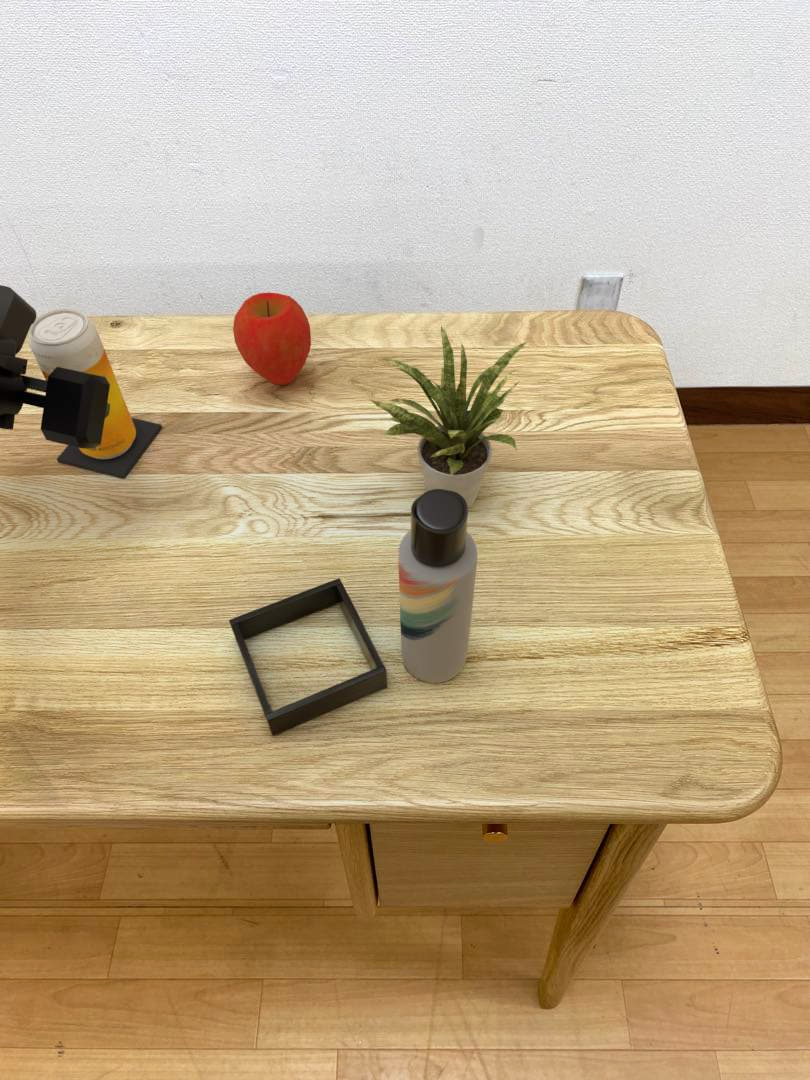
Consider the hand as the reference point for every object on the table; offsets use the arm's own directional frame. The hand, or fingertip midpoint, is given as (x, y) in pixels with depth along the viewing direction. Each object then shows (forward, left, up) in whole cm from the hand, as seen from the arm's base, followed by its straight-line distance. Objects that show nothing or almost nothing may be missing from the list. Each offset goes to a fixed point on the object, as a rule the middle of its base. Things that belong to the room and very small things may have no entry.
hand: (66, 399), depth 74 cm
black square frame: (+12, -32, -9) cm, 35 cm away
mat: (+2, +2, -9) cm, 9 cm away
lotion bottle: (+22, -36, -9) cm, 43 cm away
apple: (+22, +4, -9) cm, 24 cm away
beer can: (+2, +2, -9) cm, 9 cm away
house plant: (+33, -19, -9) cm, 39 cm away
